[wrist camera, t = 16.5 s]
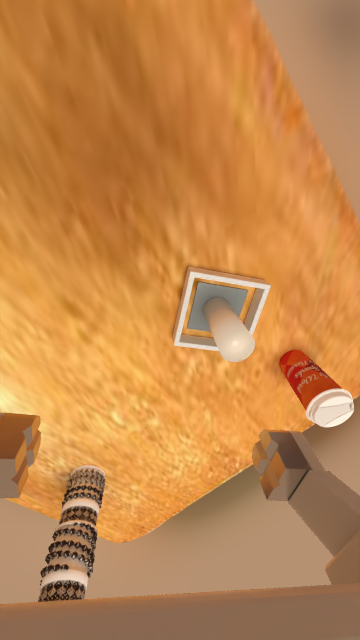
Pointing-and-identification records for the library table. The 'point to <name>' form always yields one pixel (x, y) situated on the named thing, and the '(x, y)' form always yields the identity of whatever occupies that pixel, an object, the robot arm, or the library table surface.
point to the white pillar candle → (228, 330)
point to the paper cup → (316, 390)
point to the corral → (212, 291)
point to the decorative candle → (74, 537)
